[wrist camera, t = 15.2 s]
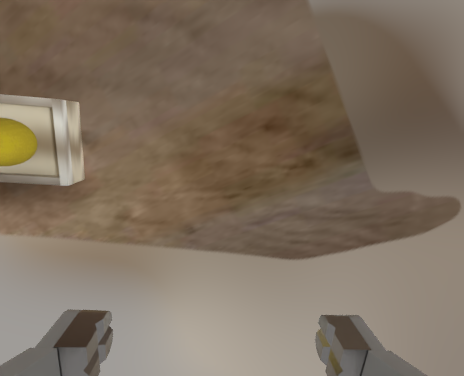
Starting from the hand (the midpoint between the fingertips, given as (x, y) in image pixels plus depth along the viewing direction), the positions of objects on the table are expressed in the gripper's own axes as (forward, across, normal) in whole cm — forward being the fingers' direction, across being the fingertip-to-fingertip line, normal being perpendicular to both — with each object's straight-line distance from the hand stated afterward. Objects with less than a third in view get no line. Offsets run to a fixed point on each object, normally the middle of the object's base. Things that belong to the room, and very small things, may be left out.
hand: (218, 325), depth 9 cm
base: (+29, +25, -4) cm, 39 cm away
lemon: (+26, +25, -4) cm, 36 cm away
